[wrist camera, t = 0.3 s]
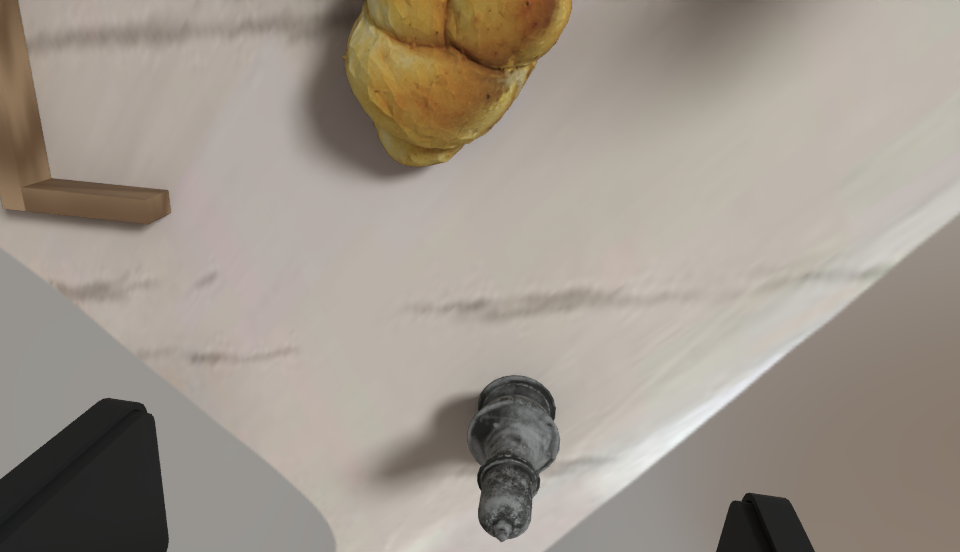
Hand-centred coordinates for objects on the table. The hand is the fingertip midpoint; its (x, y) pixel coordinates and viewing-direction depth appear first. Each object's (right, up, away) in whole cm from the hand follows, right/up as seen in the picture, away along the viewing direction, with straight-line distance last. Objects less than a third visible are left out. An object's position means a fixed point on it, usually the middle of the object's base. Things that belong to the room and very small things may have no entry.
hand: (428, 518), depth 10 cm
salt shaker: (+3, -5, +33) cm, 34 cm away
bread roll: (-1, +17, +25) cm, 30 cm away
